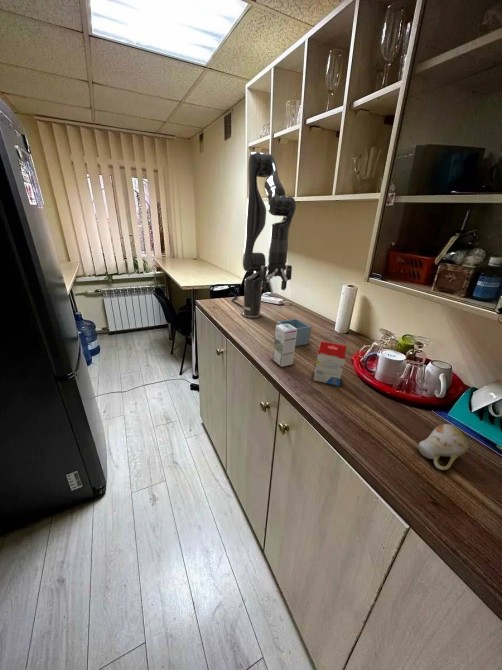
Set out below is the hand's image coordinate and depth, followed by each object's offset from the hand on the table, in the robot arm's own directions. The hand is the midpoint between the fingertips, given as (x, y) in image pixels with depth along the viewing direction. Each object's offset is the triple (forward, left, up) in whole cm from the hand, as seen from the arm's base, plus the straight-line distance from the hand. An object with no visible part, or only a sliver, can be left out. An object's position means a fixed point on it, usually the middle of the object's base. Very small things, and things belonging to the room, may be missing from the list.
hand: (274, 290), depth 116 cm
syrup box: (+23, -9, -22) cm, 33 cm away
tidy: (+8, +6, -21) cm, 24 cm away
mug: (+75, 0, -22) cm, 78 cm away
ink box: (+39, -2, -22) cm, 45 cm away
